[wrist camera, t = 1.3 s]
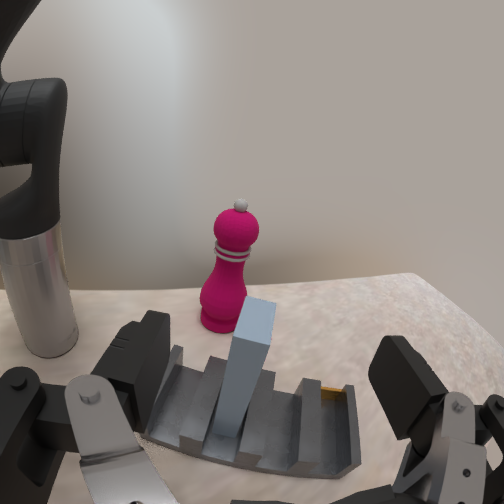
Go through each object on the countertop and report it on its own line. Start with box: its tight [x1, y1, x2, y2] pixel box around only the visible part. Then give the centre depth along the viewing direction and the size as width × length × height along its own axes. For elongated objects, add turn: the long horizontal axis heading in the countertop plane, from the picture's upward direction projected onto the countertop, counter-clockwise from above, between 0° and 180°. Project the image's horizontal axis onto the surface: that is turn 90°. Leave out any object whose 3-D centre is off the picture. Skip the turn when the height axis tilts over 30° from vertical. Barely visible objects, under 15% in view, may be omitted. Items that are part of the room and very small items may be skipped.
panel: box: [212, 296, 276, 438], centre depth 23 cm, size 2×5×15 cm, turn 170°
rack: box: [140, 345, 361, 479], centre depth 26 cm, size 22×11×5 cm, turn 80°
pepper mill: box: [200, 199, 259, 333], centre depth 39 cm, size 7×7×20 cm
